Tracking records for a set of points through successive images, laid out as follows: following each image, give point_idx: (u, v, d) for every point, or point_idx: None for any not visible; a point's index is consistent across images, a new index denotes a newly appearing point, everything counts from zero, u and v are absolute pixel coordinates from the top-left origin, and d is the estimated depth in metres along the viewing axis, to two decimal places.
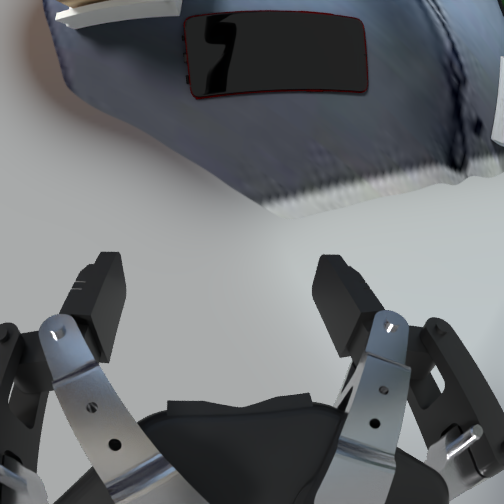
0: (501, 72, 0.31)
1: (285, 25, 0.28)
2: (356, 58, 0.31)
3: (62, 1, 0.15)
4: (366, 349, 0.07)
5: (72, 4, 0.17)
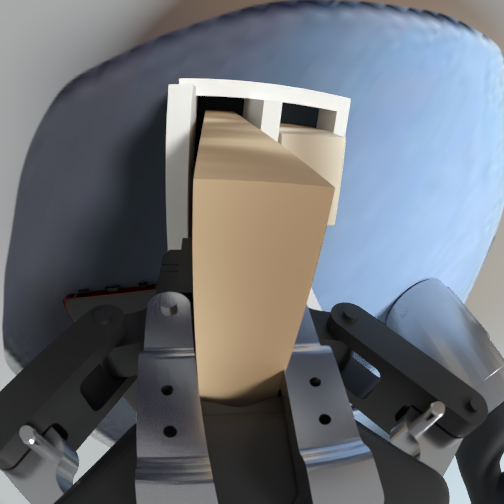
0: None
1: None
2: None
3: None
4: None
5: None
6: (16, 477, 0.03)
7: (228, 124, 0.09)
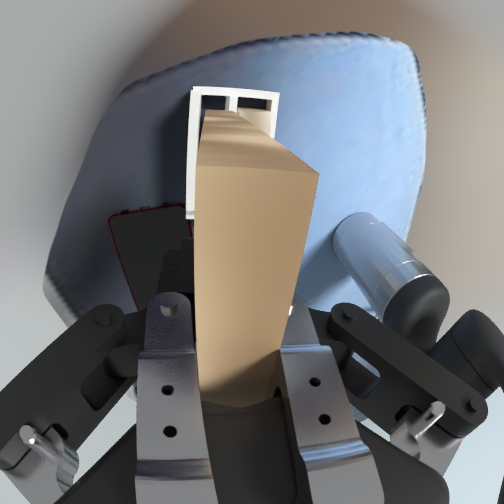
0: None
1: None
2: None
3: None
4: None
5: None
6: (16, 477, 0.03)
7: (227, 122, 0.10)
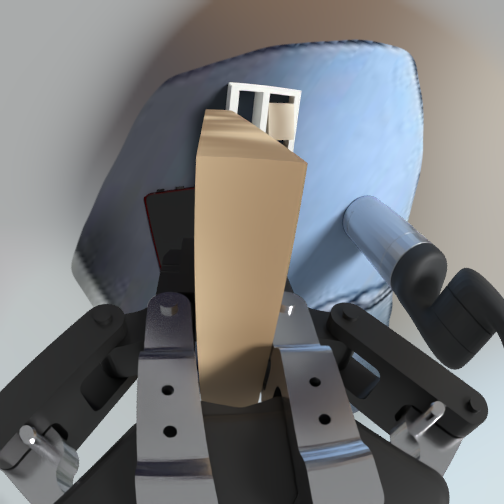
0: None
1: None
2: None
3: None
4: (273, 343, 0.07)
5: None
6: (16, 477, 0.03)
7: (226, 121, 0.10)
